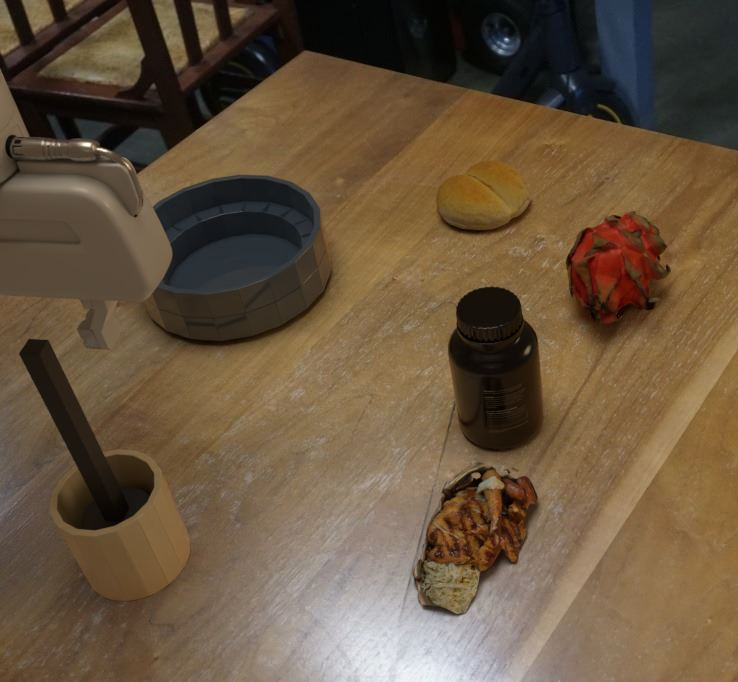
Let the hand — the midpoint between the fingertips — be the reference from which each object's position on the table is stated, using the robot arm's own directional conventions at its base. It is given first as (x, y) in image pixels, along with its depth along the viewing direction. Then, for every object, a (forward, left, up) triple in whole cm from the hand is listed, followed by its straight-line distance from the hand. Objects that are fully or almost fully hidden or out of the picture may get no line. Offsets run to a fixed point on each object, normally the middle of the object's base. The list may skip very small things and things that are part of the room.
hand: (30, 337), depth 64 cm
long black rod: (0, 0, -22) cm, 22 cm away
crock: (0, 0, -22) cm, 22 cm away
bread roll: (+18, +44, -22) cm, 52 cm away
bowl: (-3, +31, -22) cm, 38 cm away
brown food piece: (+24, +4, -22) cm, 33 cm away
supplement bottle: (+24, +16, -22) cm, 36 cm away
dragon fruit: (+32, +31, -22) cm, 50 cm away
